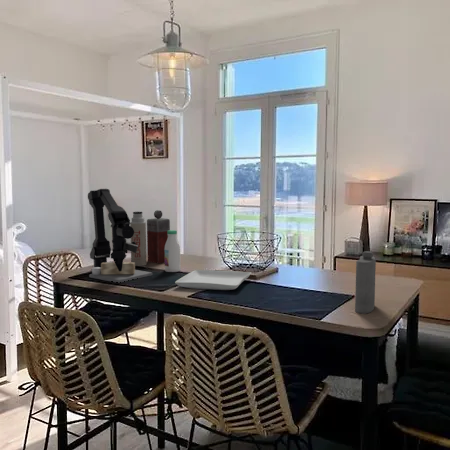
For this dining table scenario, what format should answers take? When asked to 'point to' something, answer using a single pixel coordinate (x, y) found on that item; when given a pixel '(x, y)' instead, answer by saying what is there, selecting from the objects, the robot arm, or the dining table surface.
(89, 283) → the dining table surface
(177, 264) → the milk bottle
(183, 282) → the square plate
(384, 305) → the dining table surface
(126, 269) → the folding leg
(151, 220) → the square decanter
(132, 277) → the dark grey flat piece
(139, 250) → the thermos bottle
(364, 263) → the flask
